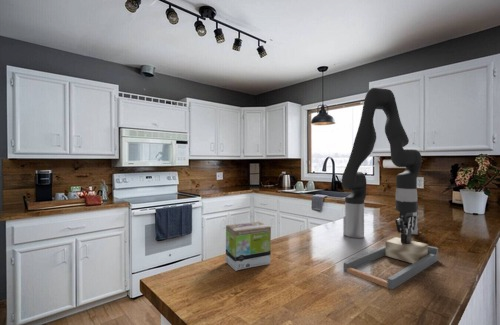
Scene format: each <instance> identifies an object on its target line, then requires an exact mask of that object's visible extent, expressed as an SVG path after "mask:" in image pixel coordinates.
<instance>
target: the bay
mask: <svg viewBox="0 0 500 325" xmlns="http://www.w3.org/2000/svg"><path fill="white" fill-rule="evenodd" d="M384 256H386V244H384V245H382V246H381V247H377V248H376V249H373V250H371V251H369V252H366V253H363V254H361V255H358V256H355V257H354V258H351V259H348V260H346V261H344V262H343V263H342V264H343V265H342V266H343V267H342V268H343V272H345V273H347V274H351V275H353V276H356V277H359V278H360V279H363V280H367V281H369V282H372V283H373V284H377V285H379V286H381V287H385V288H386V289H389V290H394V289H396V288H397V287H399V286H400V285H402V284H403V283H405V282H407V281H408V280H410V279H411V278H413V277H414V276H417V275H418V274H420V273H421V272H422V271H424V270H426V269H427V268H429V267H431V266H432V265H433V264H435V263H437V262H439V247H436V246H433V245H432V246H431V245H428V255H427V256H426V257H424V258H422V259H420V260H419V261H417V262H415V263H413V264H412V263H411V264H410V265H408V266H407V267H405V268H402V269H401V270H400V271H398V272H396V273H394V274H392V275H390V276H389V277H387V280H386V279H383V278H381V277H377V276H375V275H372V274H370V273H367V272H364V271H361V270H359V269H357V268H360V267H362V266H365V265H367V264H368V263H370V262H373V261H375V260H377V259H379V258H381V257H384Z"/></svg>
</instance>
